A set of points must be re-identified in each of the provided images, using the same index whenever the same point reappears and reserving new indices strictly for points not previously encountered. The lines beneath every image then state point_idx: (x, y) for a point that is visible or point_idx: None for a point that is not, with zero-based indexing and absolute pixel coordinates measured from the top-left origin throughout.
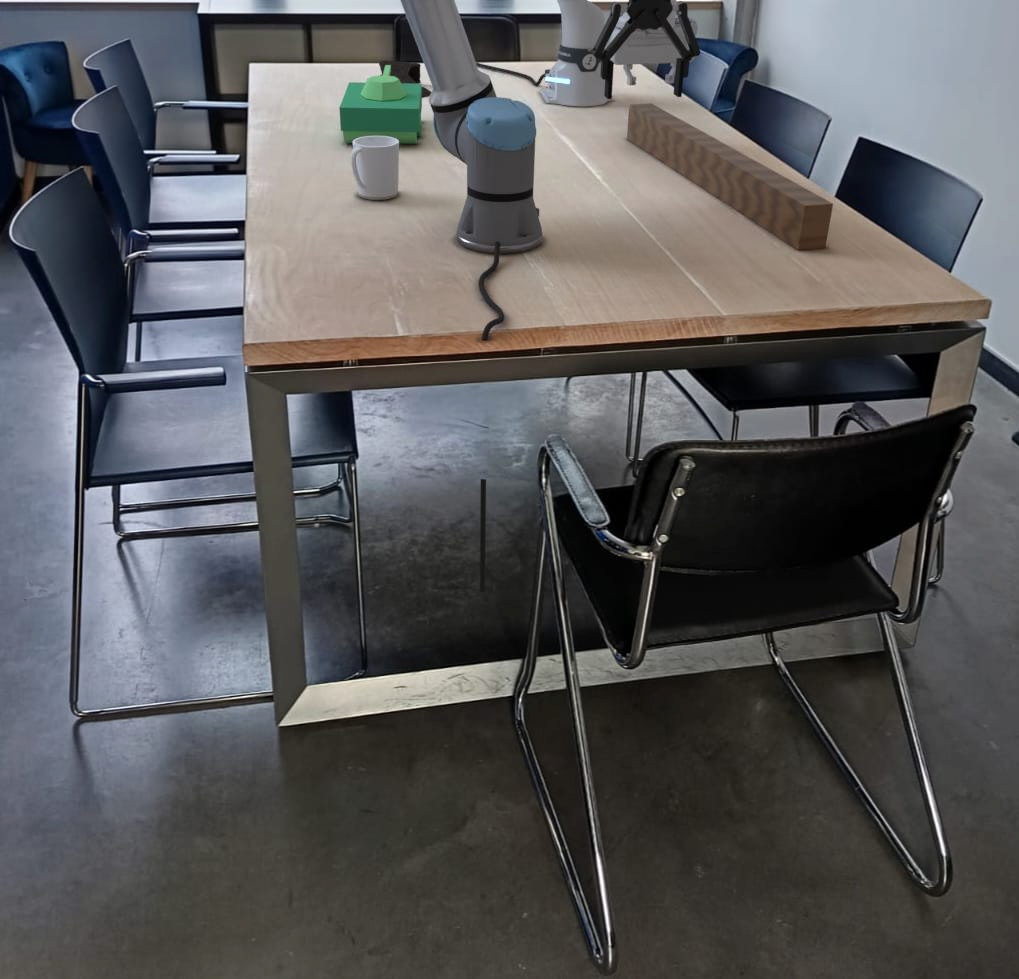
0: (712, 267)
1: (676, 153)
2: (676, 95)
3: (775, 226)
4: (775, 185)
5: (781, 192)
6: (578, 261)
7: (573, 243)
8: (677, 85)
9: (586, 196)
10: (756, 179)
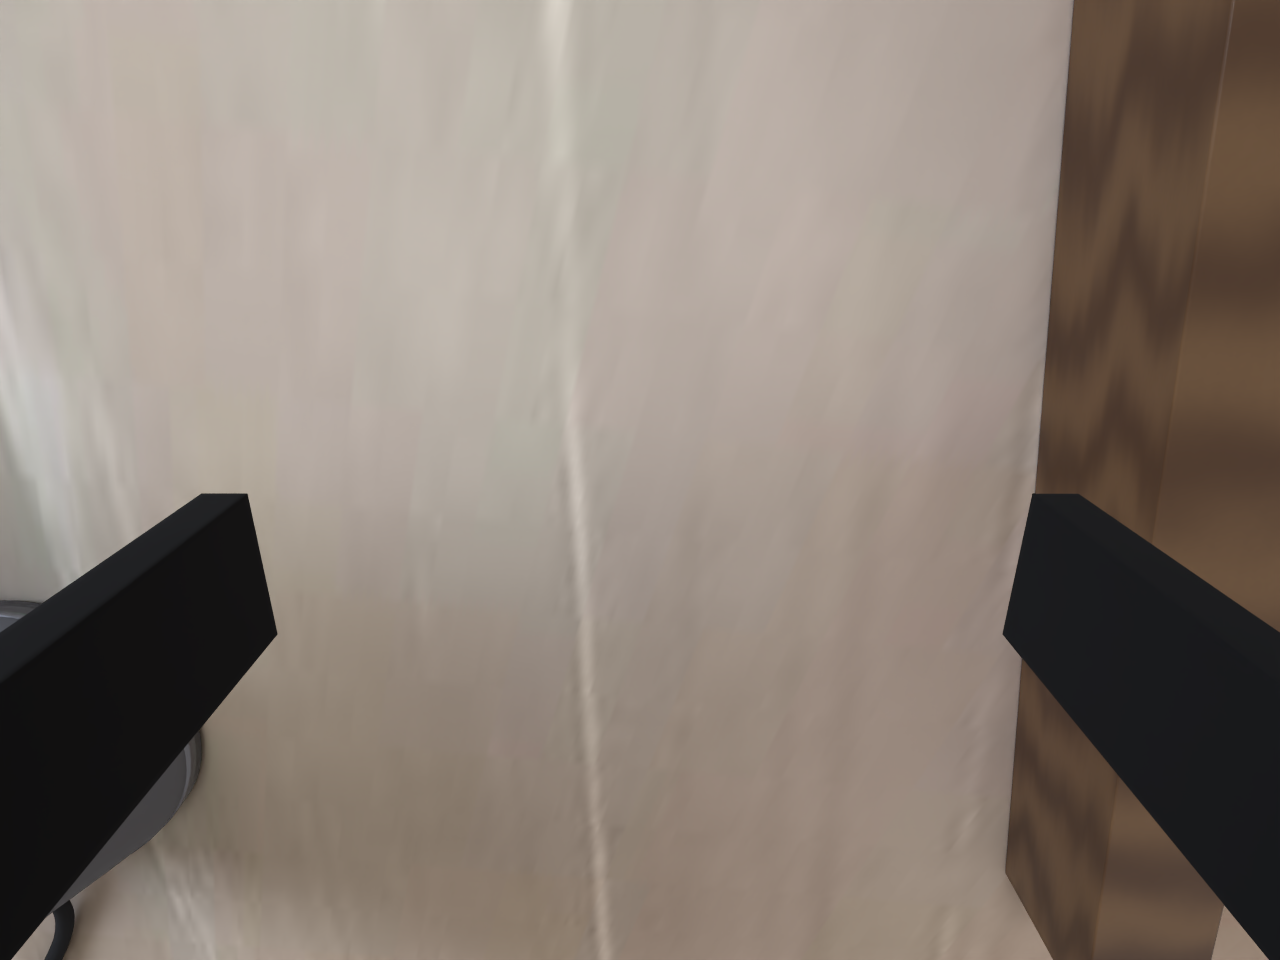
0: (692, 952)
1: None
2: (1015, 596)
3: (1028, 778)
4: (1136, 820)
5: (1101, 889)
6: (317, 890)
7: (312, 766)
8: (1071, 669)
9: (420, 224)
10: None
